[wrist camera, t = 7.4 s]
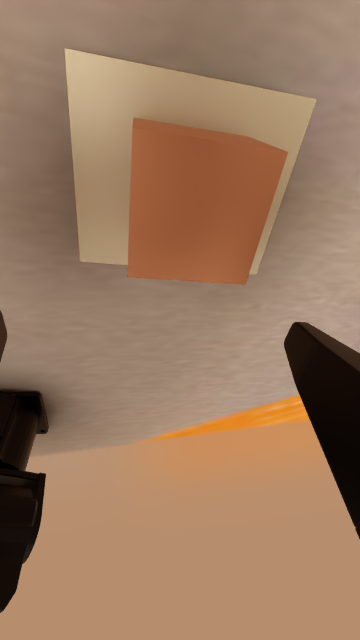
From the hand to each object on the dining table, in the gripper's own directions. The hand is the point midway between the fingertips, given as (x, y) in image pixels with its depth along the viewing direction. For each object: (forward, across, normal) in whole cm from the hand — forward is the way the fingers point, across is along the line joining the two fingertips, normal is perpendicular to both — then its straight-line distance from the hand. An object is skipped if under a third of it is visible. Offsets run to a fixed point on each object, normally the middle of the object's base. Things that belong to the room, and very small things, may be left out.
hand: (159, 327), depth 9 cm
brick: (+10, -2, -2) cm, 11 cm away
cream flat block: (+12, -2, -2) cm, 12 cm away
